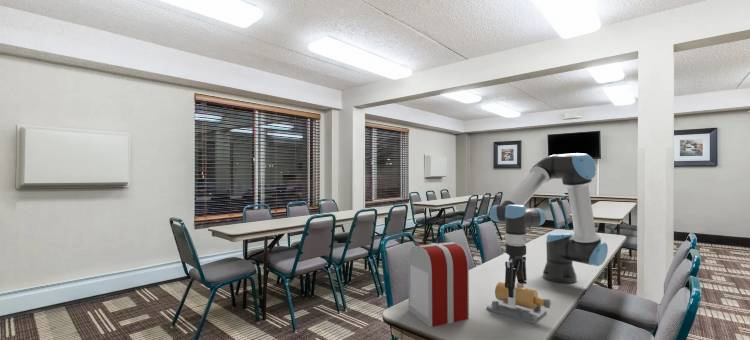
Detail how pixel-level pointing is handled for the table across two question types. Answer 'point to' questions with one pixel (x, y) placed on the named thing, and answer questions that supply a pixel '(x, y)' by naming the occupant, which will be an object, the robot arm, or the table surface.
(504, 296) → the amber bottle
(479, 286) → the table surface
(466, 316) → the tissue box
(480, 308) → the table surface
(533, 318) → the u rest
